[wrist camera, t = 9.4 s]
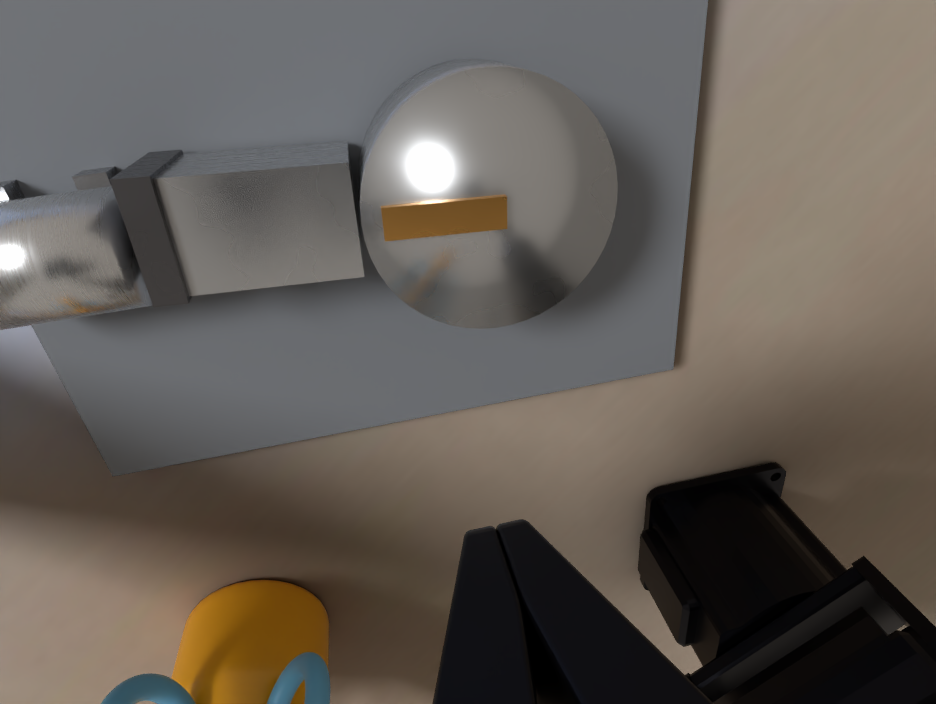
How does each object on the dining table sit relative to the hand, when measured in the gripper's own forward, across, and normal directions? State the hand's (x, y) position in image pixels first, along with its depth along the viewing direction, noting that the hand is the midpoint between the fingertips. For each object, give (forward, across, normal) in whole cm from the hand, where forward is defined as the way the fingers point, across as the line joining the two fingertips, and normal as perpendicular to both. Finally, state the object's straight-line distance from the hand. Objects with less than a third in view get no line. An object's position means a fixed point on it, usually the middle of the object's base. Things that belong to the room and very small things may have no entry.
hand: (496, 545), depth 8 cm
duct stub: (+12, +9, -2) cm, 15 cm away
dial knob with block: (+11, +1, -2) cm, 12 cm away
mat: (+12, +1, -2) cm, 13 cm away
